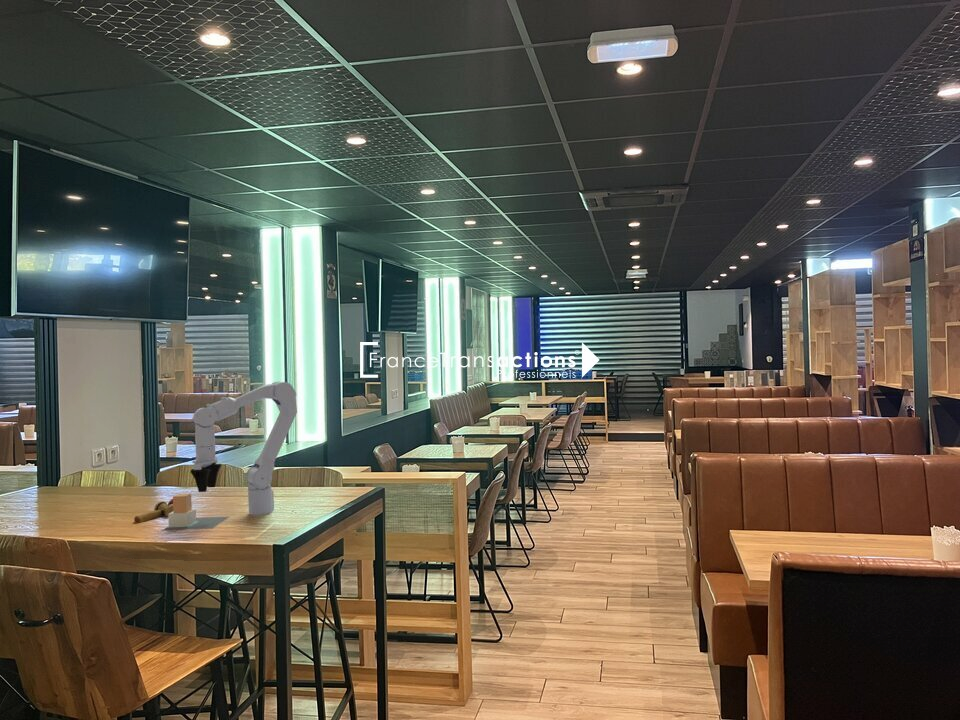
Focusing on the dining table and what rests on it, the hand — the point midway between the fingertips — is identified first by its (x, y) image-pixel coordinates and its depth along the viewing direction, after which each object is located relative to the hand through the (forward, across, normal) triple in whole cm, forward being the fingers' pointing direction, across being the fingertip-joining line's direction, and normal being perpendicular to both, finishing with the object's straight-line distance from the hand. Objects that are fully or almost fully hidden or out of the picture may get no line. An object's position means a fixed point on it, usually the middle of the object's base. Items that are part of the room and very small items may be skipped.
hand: (207, 489), depth 227 cm
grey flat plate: (+10, +4, -2) cm, 11 cm away
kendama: (+11, -8, -18) cm, 23 cm away
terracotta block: (+6, +5, -6) cm, 9 cm away
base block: (+10, +5, -6) cm, 12 cm away
